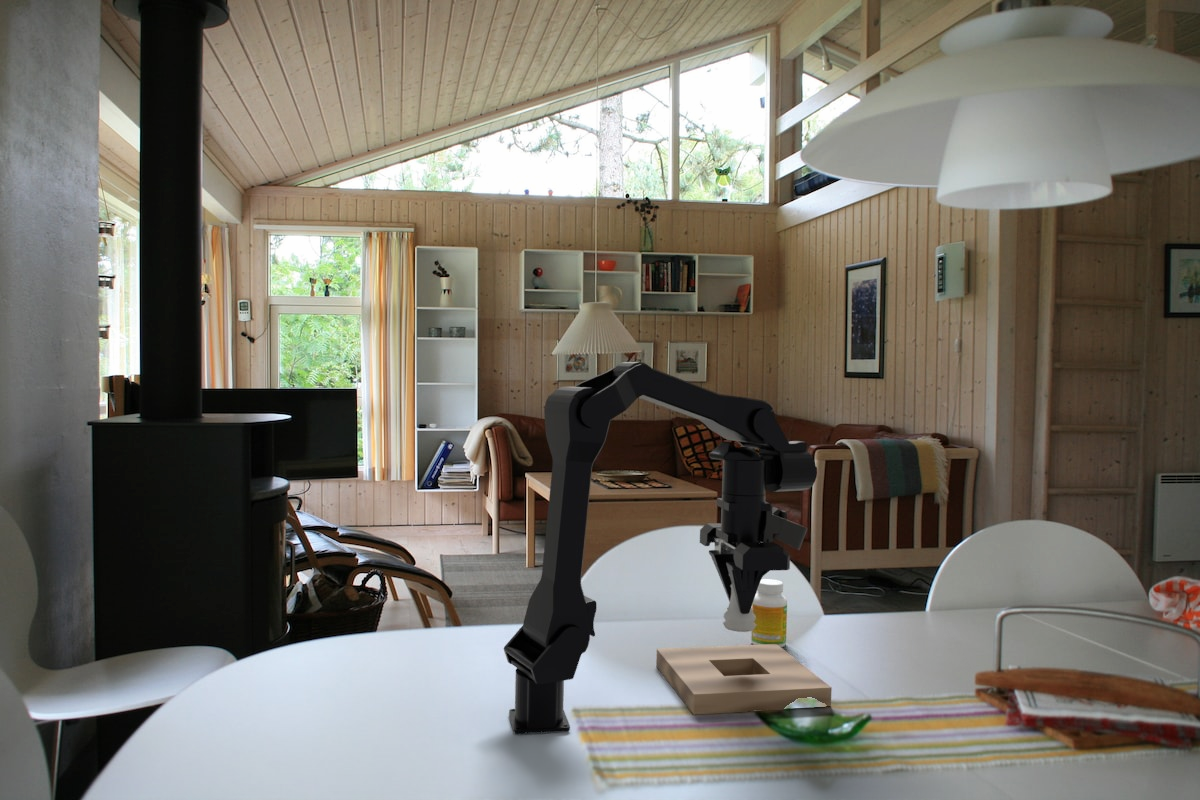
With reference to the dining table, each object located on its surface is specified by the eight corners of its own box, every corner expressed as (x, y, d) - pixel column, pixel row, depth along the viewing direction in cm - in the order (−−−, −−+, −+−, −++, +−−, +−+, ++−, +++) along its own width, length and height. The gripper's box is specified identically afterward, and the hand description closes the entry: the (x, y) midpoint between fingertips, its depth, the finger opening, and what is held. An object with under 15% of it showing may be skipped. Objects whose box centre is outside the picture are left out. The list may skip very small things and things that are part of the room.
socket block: (831, 707, 112) (831, 687, 112) (693, 714, 109) (694, 694, 109) (776, 660, 130) (776, 643, 130) (656, 666, 127) (656, 648, 127)
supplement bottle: (789, 649, 136) (790, 586, 135) (753, 648, 136) (755, 585, 135) (782, 639, 141) (784, 578, 141) (748, 638, 141) (750, 577, 141)
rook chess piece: (755, 633, 117) (757, 572, 116) (721, 630, 117) (723, 570, 117) (756, 624, 121) (758, 565, 121) (723, 621, 122) (725, 563, 122)
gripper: (831, 503, 111) (826, 628, 112) (774, 484, 129) (770, 591, 130) (746, 503, 109) (742, 630, 109) (700, 484, 127) (696, 593, 128)
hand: (739, 609), depth 119 cm, fingers closed on rook chess piece, 3 cm apart
